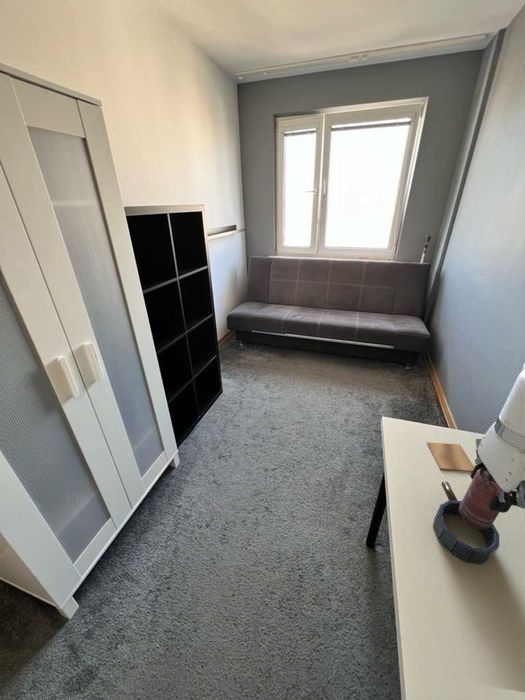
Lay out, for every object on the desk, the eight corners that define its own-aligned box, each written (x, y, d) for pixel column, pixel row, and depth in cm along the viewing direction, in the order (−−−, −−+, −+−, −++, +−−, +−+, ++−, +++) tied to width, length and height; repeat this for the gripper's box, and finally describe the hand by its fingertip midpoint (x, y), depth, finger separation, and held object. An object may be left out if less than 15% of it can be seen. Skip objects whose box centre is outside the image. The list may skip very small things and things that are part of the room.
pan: (462, 492, 76) (468, 481, 74) (502, 567, 61) (511, 555, 59) (417, 489, 78) (422, 477, 75) (446, 560, 63) (452, 549, 60)
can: (464, 528, 61) (485, 489, 54) (454, 501, 67) (472, 462, 60) (496, 535, 60) (522, 495, 53) (483, 506, 65) (506, 467, 58)
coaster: (459, 445, 90) (459, 444, 90) (476, 471, 82) (476, 471, 82) (426, 443, 92) (427, 442, 91) (439, 469, 83) (440, 468, 83)
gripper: (588, 476, 42) (537, 539, 51) (512, 401, 57) (483, 460, 66) (533, 472, 43) (492, 535, 52) (473, 400, 58) (449, 458, 67)
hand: (487, 492), depth 59 cm, fingers closed on can, 6 cm apart
